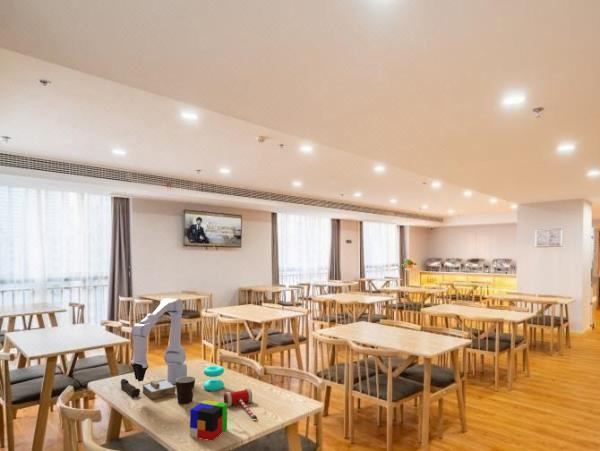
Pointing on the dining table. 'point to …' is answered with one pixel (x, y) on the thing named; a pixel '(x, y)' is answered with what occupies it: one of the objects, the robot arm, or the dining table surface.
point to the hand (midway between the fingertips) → (139, 380)
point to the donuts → (213, 383)
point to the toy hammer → (239, 399)
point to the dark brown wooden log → (129, 388)
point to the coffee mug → (185, 389)
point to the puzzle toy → (208, 419)
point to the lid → (157, 385)
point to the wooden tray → (159, 392)
